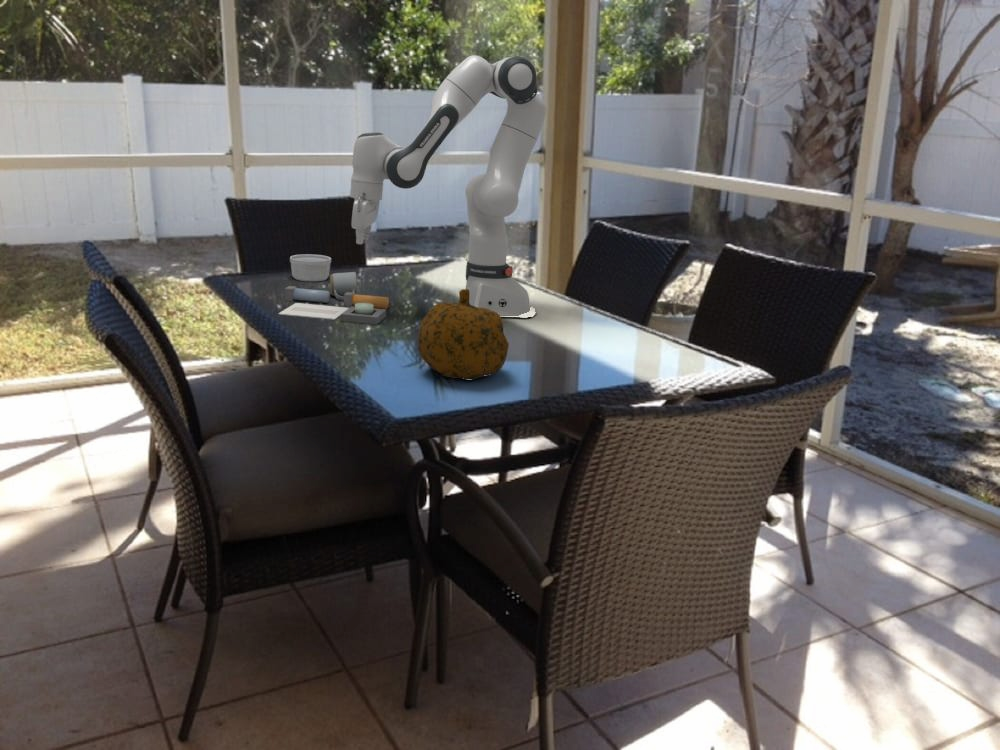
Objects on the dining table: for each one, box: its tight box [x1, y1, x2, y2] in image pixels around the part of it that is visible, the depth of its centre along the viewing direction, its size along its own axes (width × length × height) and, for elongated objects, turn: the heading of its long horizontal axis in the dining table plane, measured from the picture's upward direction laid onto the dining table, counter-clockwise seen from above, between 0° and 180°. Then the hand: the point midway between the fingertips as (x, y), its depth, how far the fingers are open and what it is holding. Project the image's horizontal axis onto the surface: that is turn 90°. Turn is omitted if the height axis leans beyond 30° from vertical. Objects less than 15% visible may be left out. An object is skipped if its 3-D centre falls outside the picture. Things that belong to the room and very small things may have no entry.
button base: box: [340, 306, 387, 325], centre depth 260 cm, size 10×10×2 cm
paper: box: [278, 302, 350, 321], centre depth 265 cm, size 16×14×1 cm
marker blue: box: [284, 285, 331, 304], centre depth 277 cm, size 12×4×4 cm, turn 82°
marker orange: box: [343, 292, 390, 310], centre depth 274 cm, size 12×4×4 cm, turn 82°
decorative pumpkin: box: [417, 288, 510, 380], centre depth 214 cm, size 20×21×20 cm
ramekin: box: [289, 253, 332, 282], centre depth 308 cm, size 13×13×7 cm
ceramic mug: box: [329, 271, 358, 302], centre depth 284 cm, size 10×8×7 cm
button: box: [354, 303, 373, 315], centre depth 260 cm, size 5×5×2 cm
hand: (362, 241), depth 266 cm, fingers open, 8 cm apart
